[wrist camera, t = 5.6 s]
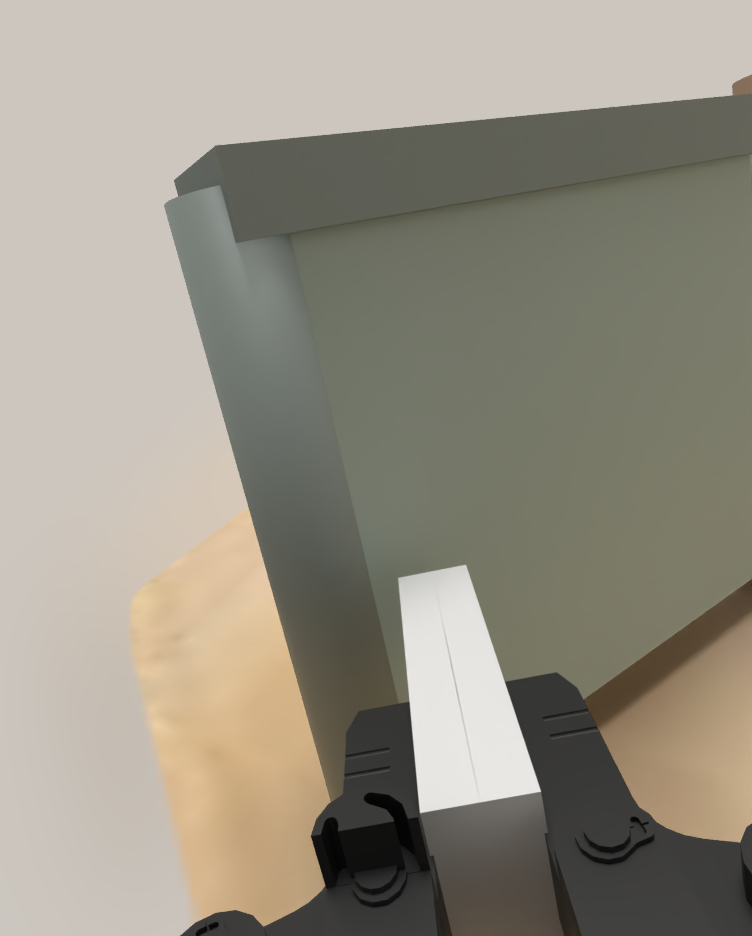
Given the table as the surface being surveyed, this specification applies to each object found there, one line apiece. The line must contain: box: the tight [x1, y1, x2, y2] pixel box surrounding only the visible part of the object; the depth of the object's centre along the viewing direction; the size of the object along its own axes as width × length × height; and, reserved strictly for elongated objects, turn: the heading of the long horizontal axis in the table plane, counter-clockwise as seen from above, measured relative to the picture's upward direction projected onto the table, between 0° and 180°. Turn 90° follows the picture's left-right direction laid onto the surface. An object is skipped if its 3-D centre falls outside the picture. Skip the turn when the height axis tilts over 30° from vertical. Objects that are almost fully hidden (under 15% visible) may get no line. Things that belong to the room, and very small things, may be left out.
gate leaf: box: [164, 94, 752, 802], centre depth 19 cm, size 20×3×16 cm, turn 123°
